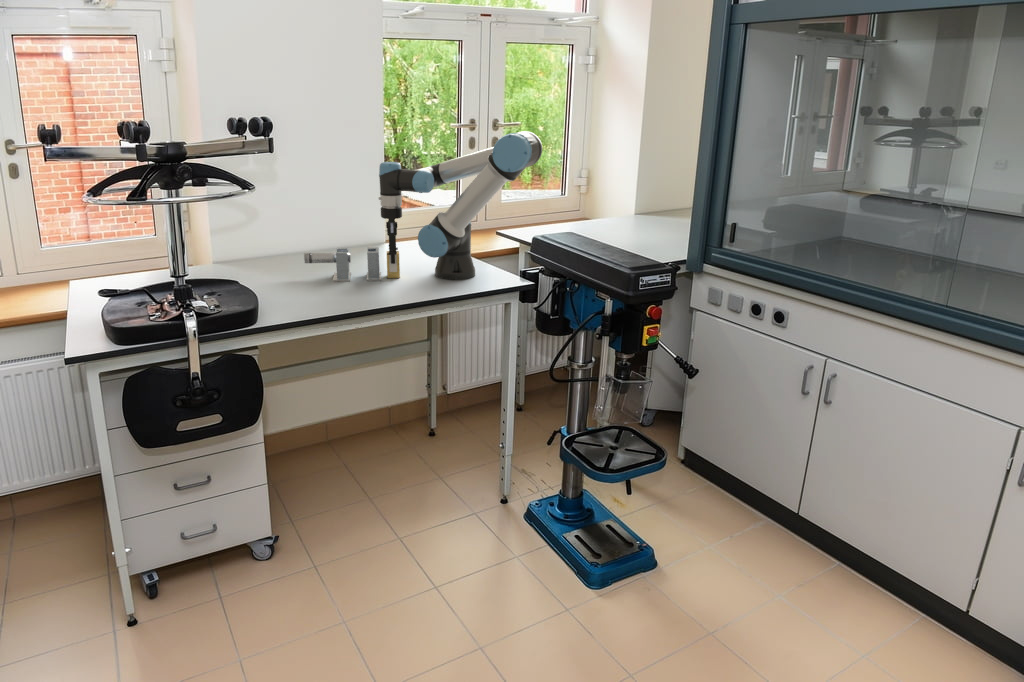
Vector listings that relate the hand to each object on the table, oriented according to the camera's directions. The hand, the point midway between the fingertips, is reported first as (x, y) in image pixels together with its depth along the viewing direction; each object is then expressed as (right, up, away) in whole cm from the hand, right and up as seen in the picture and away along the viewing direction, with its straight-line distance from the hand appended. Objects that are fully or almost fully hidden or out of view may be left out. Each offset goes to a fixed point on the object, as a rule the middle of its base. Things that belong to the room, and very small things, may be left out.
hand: (393, 269), depth 271 cm
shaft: (-23, +2, -5) cm, 23 cm away
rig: (-13, -3, -1) cm, 13 cm away
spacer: (0, -2, +1) cm, 3 cm away
